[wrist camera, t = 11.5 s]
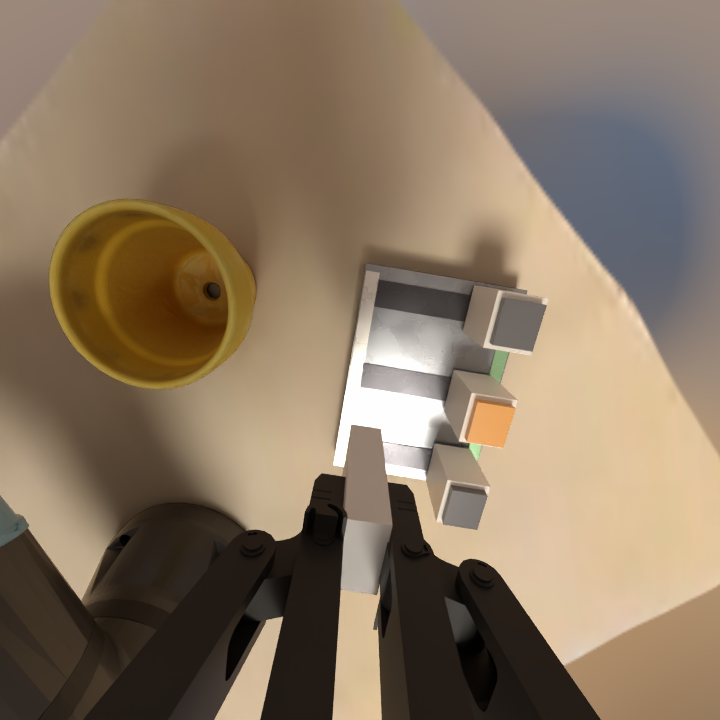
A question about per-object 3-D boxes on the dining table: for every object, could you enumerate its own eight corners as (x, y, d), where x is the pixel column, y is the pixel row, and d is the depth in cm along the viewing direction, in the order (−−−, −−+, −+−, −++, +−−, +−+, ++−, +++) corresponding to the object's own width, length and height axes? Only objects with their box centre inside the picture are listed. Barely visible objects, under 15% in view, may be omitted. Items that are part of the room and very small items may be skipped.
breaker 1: (462, 332, 26) (486, 349, 21) (474, 285, 25) (502, 291, 20) (501, 338, 26) (535, 357, 21) (514, 292, 25) (553, 299, 20)
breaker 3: (425, 479, 30) (437, 527, 24) (434, 443, 29) (449, 485, 23) (460, 485, 30) (480, 534, 24) (470, 449, 29) (493, 492, 23)
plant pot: (291, 343, 29) (253, 381, 20) (173, 356, 30) (82, 400, 20) (267, 211, 26) (210, 183, 17) (138, 229, 27) (14, 212, 18)
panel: (335, 453, 32) (333, 465, 30) (366, 263, 27) (366, 263, 25) (464, 473, 32) (470, 488, 30) (516, 288, 27) (527, 290, 25)
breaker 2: (443, 410, 28) (461, 445, 22) (453, 369, 27) (474, 396, 21) (480, 416, 28) (506, 453, 22) (491, 375, 27) (521, 404, 22)
